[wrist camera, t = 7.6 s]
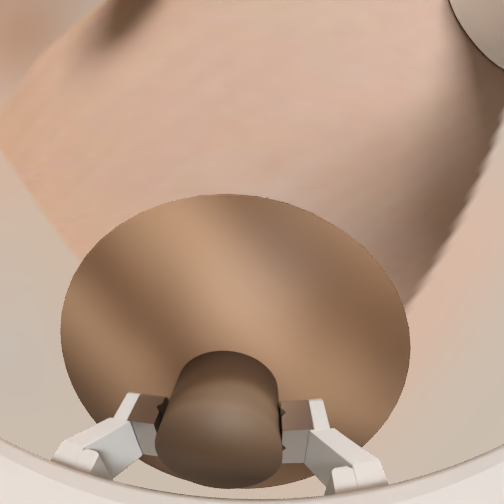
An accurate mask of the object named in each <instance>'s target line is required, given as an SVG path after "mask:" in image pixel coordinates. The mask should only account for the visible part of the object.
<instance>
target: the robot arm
mask: <svg viewBox="0 0 504 504" xmlns="http://www.w3.org/2000/svg"><path fill="white" fill-rule="evenodd" d="M450 3H451V6H452V8H453V11H454V13H455V15H456V17H457V19H458V20H459V22H460V24H461V25H462V27H463V29H464V30H465V31H466V33H467V34H468V36H469V37H470V38H471V40H472V41H473V42H474V43H475V45H476V46H477V47H478V48H479V49H480V50H481V51H482V52H483V53H484V54H485V55H486V56H487V57H488V58H489V59H490V60H491V61H492V62H494V63H495V64H496V65H498V66H499V67H501V68H503V69H504V0H450ZM168 403H169V399H168V398H167V397H164V396H156V395H149V394H140V393H134V392H129V393H127V394H126V396H125V398H124V400H123V401H122V403H121V405H120V407H119V409H118V410H117V412H116V414H115V416H114V417H113V418H108V419H106V420H104V421H102V422H100V423H98V424H96V425H94V426H92V427H90V428H88V429H86V430H84V431H82V432H80V433H78V434H76V435H74V436H72V437H70V438H68V439H66V440H64V441H63V442H62V443H61V445H60V446H59V448H58V450H57V451H56V453H55V454H54V456H53V457H52V459H51V460H47V459H45V458H42V457H40V456H38V455H35V454H33V453H31V452H29V451H26V450H24V449H22V448H20V447H17V446H16V445H13V444H12V443H10V442H8V441H6V440H4V439H2V438H0V504H504V444H503V445H501V446H499V447H497V448H494V449H492V450H490V451H488V452H486V453H483V454H481V455H479V456H476V457H474V458H472V459H469V460H467V461H464V462H462V463H459V464H456V465H454V466H451V467H448V468H445V469H443V470H440V471H436V472H434V473H430V474H427V475H424V476H420V477H417V478H413V479H410V480H406V481H403V482H398V483H394V484H390V485H388V482H387V480H386V477H385V474H384V472H383V468H382V466H381V463H380V460H379V459H377V458H376V457H374V456H373V455H371V454H370V453H368V452H367V451H366V450H364V449H363V448H361V447H360V446H358V445H357V444H356V443H354V442H353V441H351V440H350V439H349V438H347V437H346V436H344V435H343V434H342V433H340V432H339V431H338V430H336V429H335V428H330V426H329V422H328V418H327V414H326V410H325V406H324V402H323V399H322V398H319V399H308V400H292V401H280V404H279V413H280V423H281V442H282V452H283V460H282V463H304V464H305V465H306V466H307V467H308V468H309V469H310V470H311V471H312V472H313V474H314V475H315V476H316V477H317V478H318V479H319V480H320V481H321V482H322V483H323V484H324V485H325V486H326V491H325V494H324V496H318V497H306V498H293V499H226V498H212V497H200V496H191V495H183V494H176V493H169V492H163V491H157V490H152V489H146V488H141V487H137V486H132V485H128V484H123V483H119V482H115V481H113V478H114V477H116V476H117V475H118V474H119V473H121V472H122V471H123V470H125V469H126V468H127V467H128V466H130V465H131V464H132V463H133V462H135V461H136V460H137V459H138V458H140V457H141V456H142V454H146V455H153V456H158V455H157V452H156V450H155V437H156V434H157V432H158V429H159V426H160V424H161V421H162V418H163V416H164V413H165V411H166V408H167V405H168Z"/></svg>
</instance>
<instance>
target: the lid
mask: <svg viewBox="0 0 504 504" xmlns="http://www.w3.org/2000/svg"><path fill="white" fill-rule="evenodd" d="M61 344H62V352H63V357H64V361H65V366H66V369H67V372H68V375H69V378H70V380H71V383H72V385H73V387H74V389H75V391H76V393H77V395H78V397H79V399H80V401H81V402H82V404H83V405H84V407H85V408H86V410H87V411H88V413H89V414H90V416H91V417H92V418H93V419H94V421H95V422H96V423H97V424H98V423H100V422H102V421H104V420H106V419H108V418H113V417H114V416H115V414H116V412H117V410H118V409H119V407H120V405H121V403H122V401H123V400H124V398H125V396H126V394H127V393H129V392H134V393H140V394H149V395H156V396H164V397H167V398H168V399H169V403H168V405H167V408H166V411H165V413H164V416H163V418H162V421H161V424H160V426H159V429H158V432H157V434H156V437H155V450H156V452H157V455H158V456H153V455H146V454H142V456H141V457H140V458H138V459H140V460H141V461H143V462H144V463H146V464H148V465H150V466H152V467H154V468H156V469H158V470H160V471H162V472H165V473H167V474H170V475H172V476H175V477H178V478H181V479H184V480H187V481H191V482H193V483H196V484H200V485H203V486H208V487H213V488H223V489H233V488H234V489H235V488H242V489H243V488H246V489H247V488H248V489H249V488H264V487H272V486H278V485H283V484H288V483H292V482H296V481H299V480H303V479H306V478H308V477H311V476H314V474H313V472H312V471H311V470H310V469H309V468H308V467H307V466H306V465H305V464H304V463H282V460H283V452H282V442H281V423H280V413H279V404H280V401H292V400H308V399H319V398H322V399H323V402H324V406H325V410H326V414H327V418H328V422H329V426H330V428H335V429H336V430H338V431H339V432H340V433H342V434H343V435H344V436H346V437H347V438H349V439H350V440H351V441H353V442H354V443H356V444H357V445H358V446H360V447H362V446H364V445H365V444H366V443H367V442H368V441H369V440H370V439H371V438H372V437H373V436H374V435H375V434H376V433H377V432H378V430H379V429H380V428H381V427H382V425H383V424H384V423H385V421H386V420H387V419H388V417H389V416H390V414H391V412H392V411H393V409H394V407H395V405H396V404H397V402H398V399H399V397H400V395H401V392H402V390H403V387H404V384H405V381H406V376H407V372H408V368H409V359H410V336H409V327H408V323H407V318H406V314H405V310H404V307H403V305H402V302H401V300H400V298H399V295H398V293H397V291H396V289H395V287H394V285H393V283H392V282H391V280H390V279H389V277H388V276H387V274H386V273H385V271H384V270H383V268H382V267H381V266H380V265H379V263H378V262H377V261H376V260H375V259H374V258H373V257H372V256H371V255H370V254H369V253H368V251H367V250H366V249H365V248H364V247H363V246H361V245H360V244H359V243H358V242H356V241H355V240H354V239H352V238H351V237H350V236H349V235H347V234H346V233H345V232H344V231H342V230H341V229H339V228H338V227H336V226H334V225H333V224H331V223H329V222H327V221H326V220H324V219H322V218H320V217H318V216H317V215H315V214H313V213H311V212H308V211H306V210H303V209H301V208H298V207H295V206H293V205H290V204H288V203H284V202H280V201H276V200H271V199H267V198H263V197H258V196H248V195H236V194H218V195H201V196H196V197H191V198H186V199H181V200H176V201H172V202H168V203H165V204H163V205H160V206H157V207H154V208H152V209H149V210H147V211H144V212H141V213H139V214H138V215H136V216H134V217H132V218H131V219H129V220H127V221H125V222H124V223H122V224H120V225H118V226H117V227H116V228H115V229H113V230H112V231H111V232H110V233H108V234H107V235H106V236H105V237H103V238H102V239H101V240H100V241H99V242H98V243H97V244H96V245H95V246H94V248H93V249H92V250H91V251H90V252H89V253H88V254H87V256H86V257H85V258H84V259H83V261H82V263H81V264H80V266H79V268H78V269H77V271H76V272H75V274H74V276H73V278H72V281H71V283H70V286H69V288H68V291H67V293H66V297H65V301H64V306H63V310H62V316H61Z"/></svg>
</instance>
